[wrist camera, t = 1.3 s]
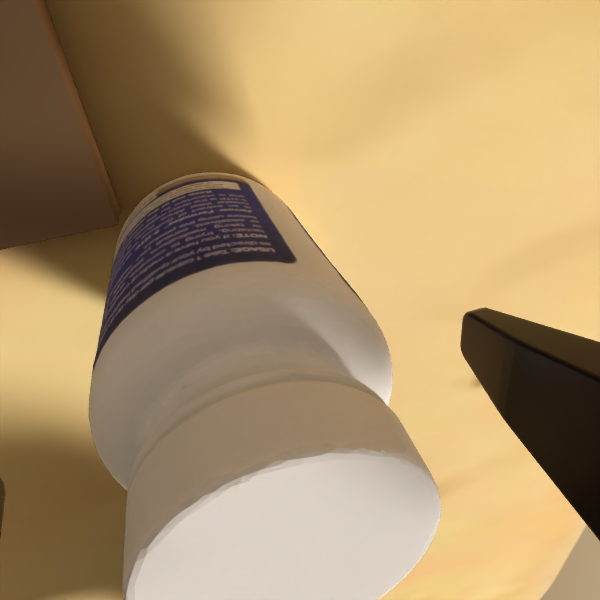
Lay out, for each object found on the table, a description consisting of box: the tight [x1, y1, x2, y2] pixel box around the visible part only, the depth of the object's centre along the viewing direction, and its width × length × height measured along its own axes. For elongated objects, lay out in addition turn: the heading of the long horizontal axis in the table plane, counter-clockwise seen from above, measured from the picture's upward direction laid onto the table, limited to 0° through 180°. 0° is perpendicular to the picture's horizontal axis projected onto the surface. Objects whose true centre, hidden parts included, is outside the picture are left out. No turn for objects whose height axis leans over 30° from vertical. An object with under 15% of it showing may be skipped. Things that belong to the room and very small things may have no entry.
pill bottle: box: [89, 172, 441, 600], centre depth 9 cm, size 5×5×9 cm
